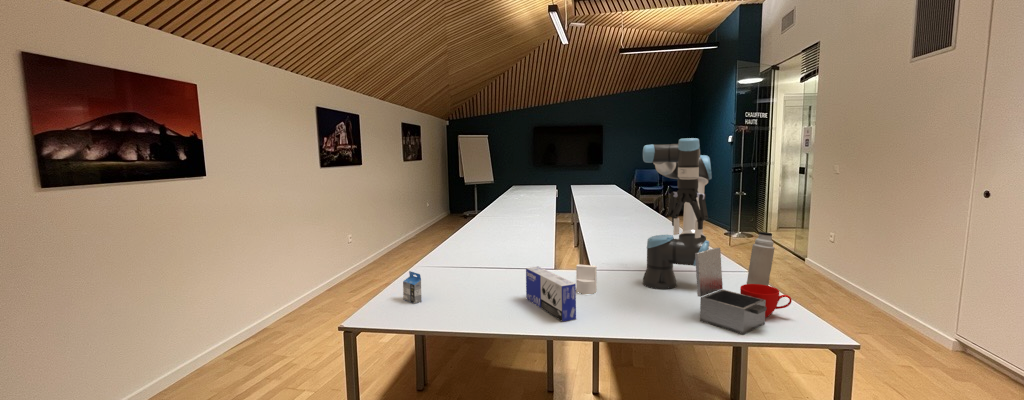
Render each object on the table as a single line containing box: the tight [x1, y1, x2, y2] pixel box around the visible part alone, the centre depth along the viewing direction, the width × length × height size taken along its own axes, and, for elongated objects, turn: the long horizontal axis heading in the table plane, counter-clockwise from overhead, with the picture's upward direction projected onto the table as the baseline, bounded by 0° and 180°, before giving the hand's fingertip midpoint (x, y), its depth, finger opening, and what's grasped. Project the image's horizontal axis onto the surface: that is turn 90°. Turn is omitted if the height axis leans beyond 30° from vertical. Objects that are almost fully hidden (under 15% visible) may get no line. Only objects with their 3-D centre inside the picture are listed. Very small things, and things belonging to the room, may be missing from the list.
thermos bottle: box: [746, 231, 775, 286], centre depth 186 cm, size 8×8×28 cm
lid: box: [695, 247, 724, 298], centre depth 169 cm, size 16×15×2 cm
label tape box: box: [402, 270, 423, 304], centre depth 194 cm, size 9×4×12 cm, turn 47°
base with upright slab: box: [575, 263, 598, 295], centre depth 201 cm, size 9×9×12 cm
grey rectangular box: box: [699, 289, 766, 335], centre depth 161 cm, size 18×15×9 cm
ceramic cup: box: [739, 283, 793, 318], centre depth 169 cm, size 13×17×10 cm
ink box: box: [525, 266, 577, 322], centre depth 181 cm, size 30×7×14 cm, turn 24°
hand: (686, 235), depth 175 cm, fingers open, 9 cm apart
